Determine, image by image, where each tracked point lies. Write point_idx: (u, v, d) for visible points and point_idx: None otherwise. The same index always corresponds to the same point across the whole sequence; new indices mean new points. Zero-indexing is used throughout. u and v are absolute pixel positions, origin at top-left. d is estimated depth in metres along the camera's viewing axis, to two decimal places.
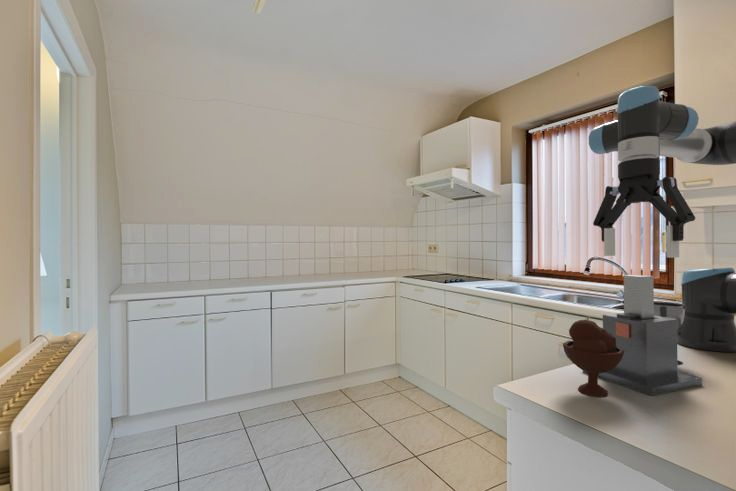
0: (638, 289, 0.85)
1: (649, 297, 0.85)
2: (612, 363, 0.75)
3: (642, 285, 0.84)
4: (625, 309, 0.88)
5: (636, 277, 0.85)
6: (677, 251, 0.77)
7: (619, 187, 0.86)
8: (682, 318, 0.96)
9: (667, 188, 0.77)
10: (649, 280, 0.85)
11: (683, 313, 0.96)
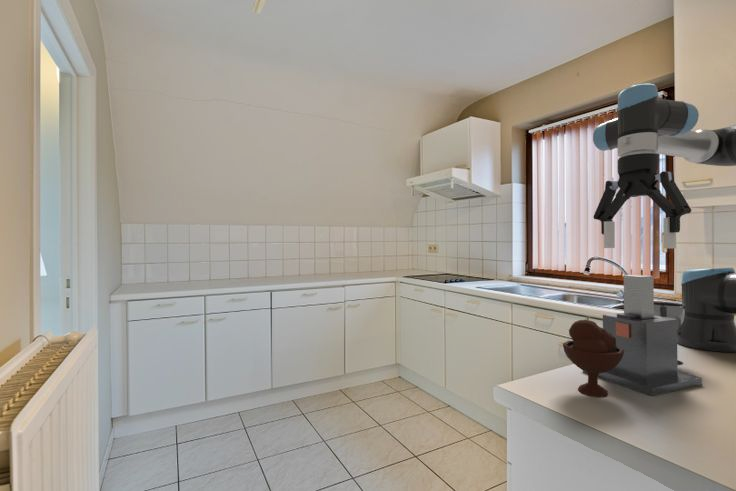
0: (638, 289, 0.85)
1: (649, 297, 0.85)
2: (612, 363, 0.75)
3: (642, 285, 0.84)
4: (625, 309, 0.88)
5: (636, 277, 0.85)
6: (674, 242, 0.80)
7: (618, 181, 0.90)
8: (682, 318, 0.96)
9: (664, 182, 0.80)
10: (649, 280, 0.85)
11: (683, 313, 0.96)
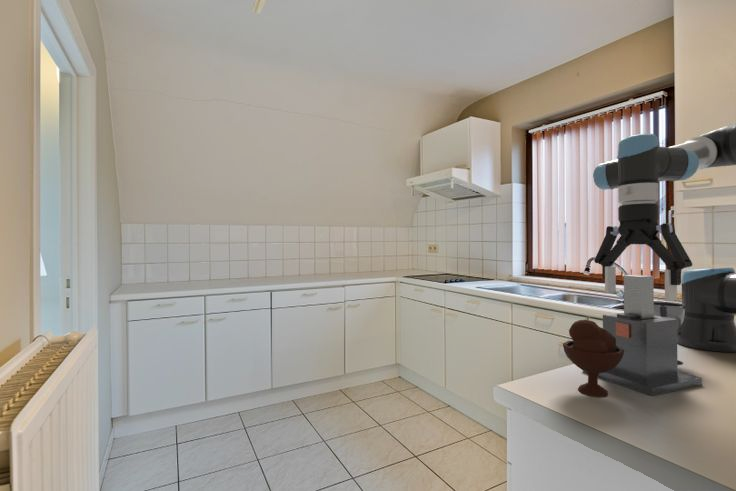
0: (638, 289, 0.85)
1: (649, 297, 0.85)
2: (612, 363, 0.75)
3: (642, 285, 0.84)
4: (625, 309, 0.88)
5: (636, 277, 0.85)
6: (675, 294, 0.80)
7: (619, 228, 0.90)
8: (682, 318, 0.96)
9: (665, 234, 0.80)
10: (649, 280, 0.85)
11: (683, 313, 0.96)
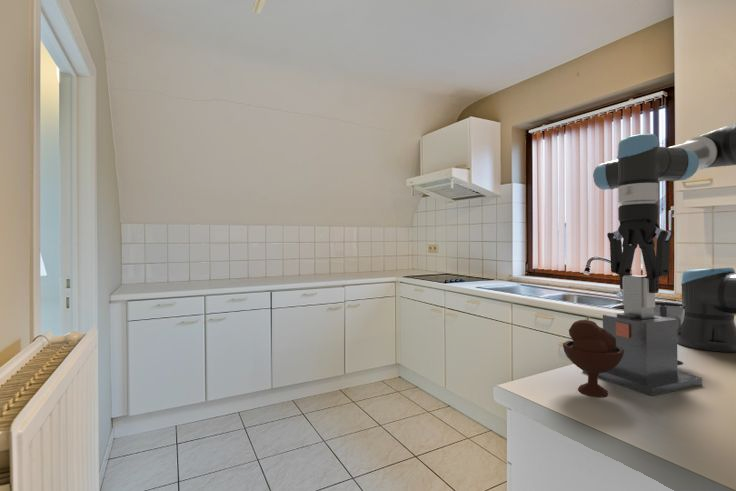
0: (638, 289, 0.85)
1: None
2: (612, 363, 0.75)
3: (642, 285, 0.84)
4: (625, 309, 0.88)
5: (636, 277, 0.85)
6: (653, 302, 0.84)
7: (619, 229, 0.90)
8: (682, 318, 0.96)
9: (660, 241, 0.81)
10: None
11: (683, 313, 0.96)
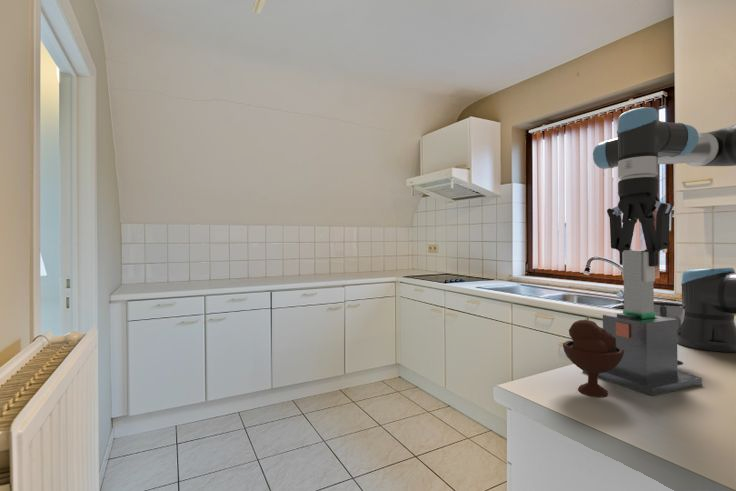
0: (638, 263, 0.85)
1: None
2: (612, 363, 0.75)
3: (642, 259, 0.84)
4: (625, 283, 0.88)
5: (636, 251, 0.85)
6: (653, 275, 0.84)
7: (619, 205, 0.90)
8: (682, 318, 0.96)
9: (660, 214, 0.81)
10: None
11: (683, 313, 0.96)
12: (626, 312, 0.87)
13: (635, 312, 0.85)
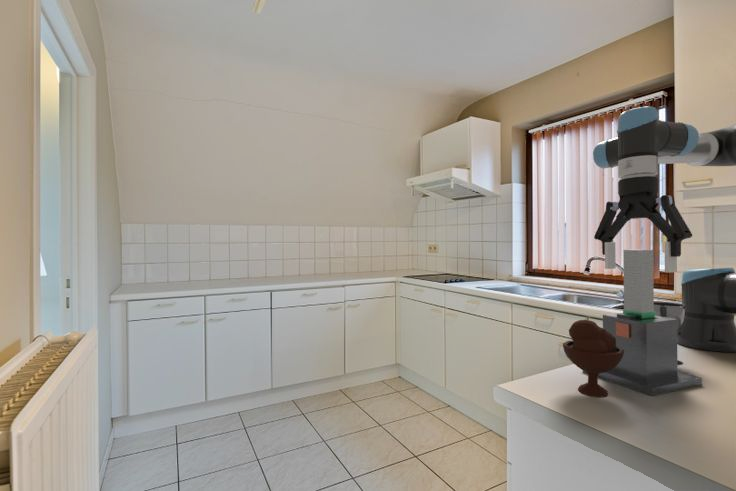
0: (638, 262, 0.85)
1: (649, 271, 0.85)
2: (612, 363, 0.75)
3: (642, 258, 0.84)
4: (625, 283, 0.88)
5: (636, 251, 0.85)
6: (675, 266, 0.80)
7: (619, 203, 0.90)
8: (682, 318, 0.96)
9: (665, 206, 0.80)
10: (649, 254, 0.85)
11: (683, 313, 0.96)
12: (626, 312, 0.87)
13: (635, 312, 0.85)
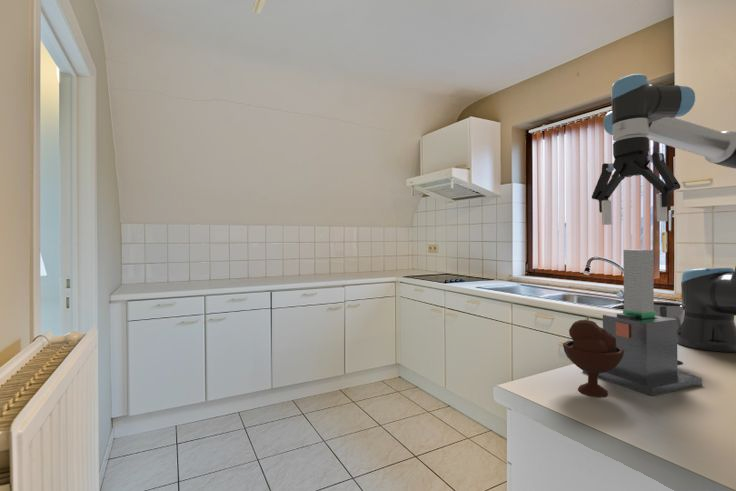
0: (638, 262, 0.85)
1: (649, 271, 0.85)
2: (612, 363, 0.75)
3: (642, 258, 0.84)
4: (625, 283, 0.88)
5: (636, 251, 0.85)
6: (665, 216, 0.90)
7: (614, 163, 0.99)
8: (682, 318, 0.96)
9: (656, 162, 0.89)
10: (649, 254, 0.85)
11: (683, 313, 0.96)
12: (626, 312, 0.87)
13: (635, 312, 0.85)
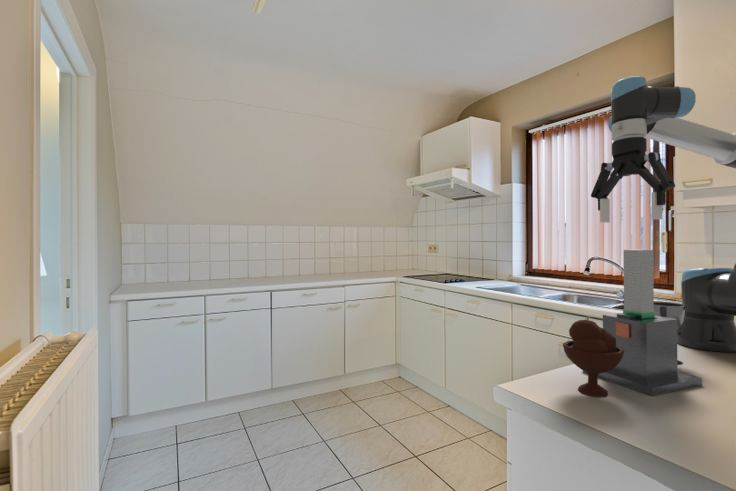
0: (638, 262, 0.85)
1: (649, 271, 0.85)
2: (612, 363, 0.75)
3: (642, 258, 0.84)
4: (625, 283, 0.88)
5: (636, 251, 0.85)
6: (660, 214, 0.92)
7: (613, 163, 1.01)
8: (682, 318, 0.96)
9: (652, 161, 0.92)
10: (649, 254, 0.85)
11: (683, 313, 0.96)
12: (626, 312, 0.87)
13: (635, 312, 0.85)
